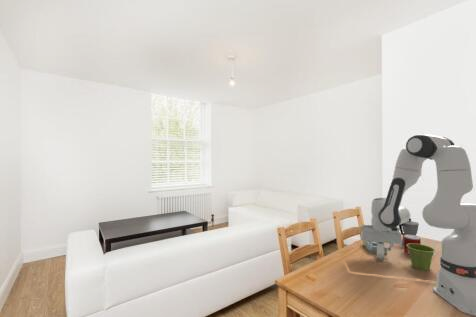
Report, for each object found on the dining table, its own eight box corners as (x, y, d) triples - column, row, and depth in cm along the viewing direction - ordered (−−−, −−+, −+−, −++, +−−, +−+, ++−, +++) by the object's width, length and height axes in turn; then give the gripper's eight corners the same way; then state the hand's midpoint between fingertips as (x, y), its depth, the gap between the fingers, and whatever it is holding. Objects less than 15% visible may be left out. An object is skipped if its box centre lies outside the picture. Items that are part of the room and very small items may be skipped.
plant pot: (441, 275, 114) (440, 252, 114) (414, 273, 116) (414, 250, 116) (426, 264, 125) (426, 243, 125) (402, 262, 127) (402, 242, 128)
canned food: (424, 257, 134) (423, 238, 134) (410, 257, 134) (410, 238, 134) (414, 252, 142) (414, 234, 142) (401, 252, 142) (401, 234, 142)
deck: (390, 264, 125) (390, 262, 125) (376, 263, 127) (376, 261, 127) (384, 257, 135) (384, 255, 135) (371, 255, 136) (371, 254, 136)
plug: (385, 260, 128) (385, 242, 129) (378, 259, 129) (378, 241, 130) (383, 257, 132) (382, 240, 132) (376, 256, 133) (375, 239, 133)
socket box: (386, 256, 136) (386, 247, 136) (369, 254, 138) (369, 245, 138) (378, 246, 151) (377, 238, 152) (362, 245, 154) (362, 237, 154)
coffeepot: (411, 241, 159) (410, 216, 159) (425, 246, 150) (424, 219, 150) (393, 243, 156) (392, 217, 156) (406, 248, 147) (405, 221, 147)
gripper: (361, 226, 131) (362, 250, 131) (402, 228, 125) (403, 253, 125) (359, 223, 137) (359, 246, 137) (398, 225, 131) (398, 249, 131)
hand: (380, 249), depth 131 cm, fingers open, 7 cm apart
